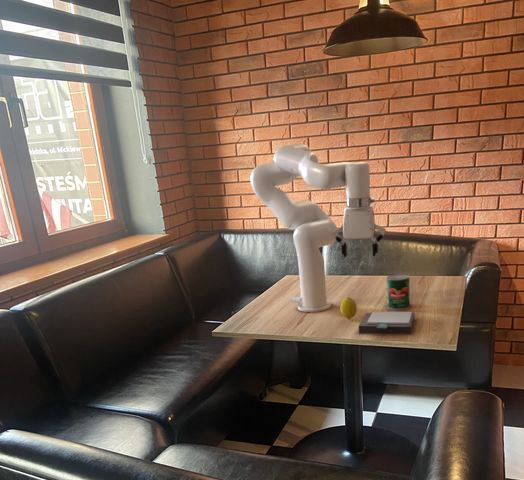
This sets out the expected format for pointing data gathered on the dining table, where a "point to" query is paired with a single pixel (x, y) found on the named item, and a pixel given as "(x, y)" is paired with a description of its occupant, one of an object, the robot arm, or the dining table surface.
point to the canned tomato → (398, 292)
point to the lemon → (348, 308)
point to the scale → (387, 323)
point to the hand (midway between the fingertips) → (359, 255)
